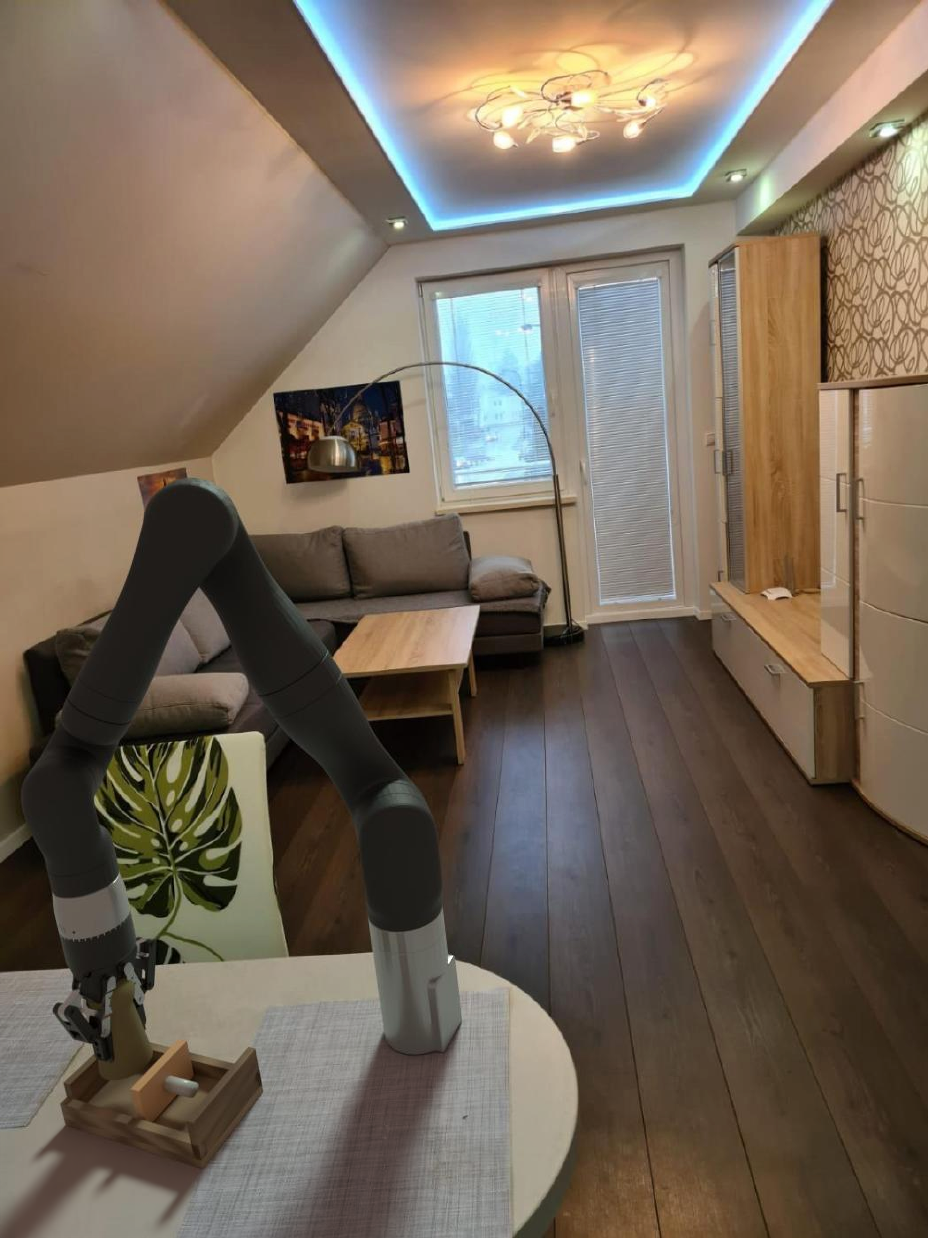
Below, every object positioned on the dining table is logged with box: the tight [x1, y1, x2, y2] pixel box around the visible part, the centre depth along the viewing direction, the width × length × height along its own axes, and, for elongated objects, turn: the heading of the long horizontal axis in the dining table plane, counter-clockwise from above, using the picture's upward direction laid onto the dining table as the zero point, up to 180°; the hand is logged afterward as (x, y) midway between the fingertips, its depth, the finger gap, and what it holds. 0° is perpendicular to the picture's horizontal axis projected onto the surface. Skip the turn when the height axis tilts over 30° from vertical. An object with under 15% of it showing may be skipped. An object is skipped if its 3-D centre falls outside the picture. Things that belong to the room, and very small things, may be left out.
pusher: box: [131, 1038, 198, 1122], centre depth 97 cm, size 5×8×5 cm, turn 158°
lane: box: [59, 1041, 264, 1169], centre depth 98 cm, size 20×11×6 cm, turn 68°
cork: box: [88, 978, 153, 1081], centre depth 98 cm, size 6×6×11 cm
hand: (123, 1044), depth 99 cm, fingers closed on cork, 4 cm apart
